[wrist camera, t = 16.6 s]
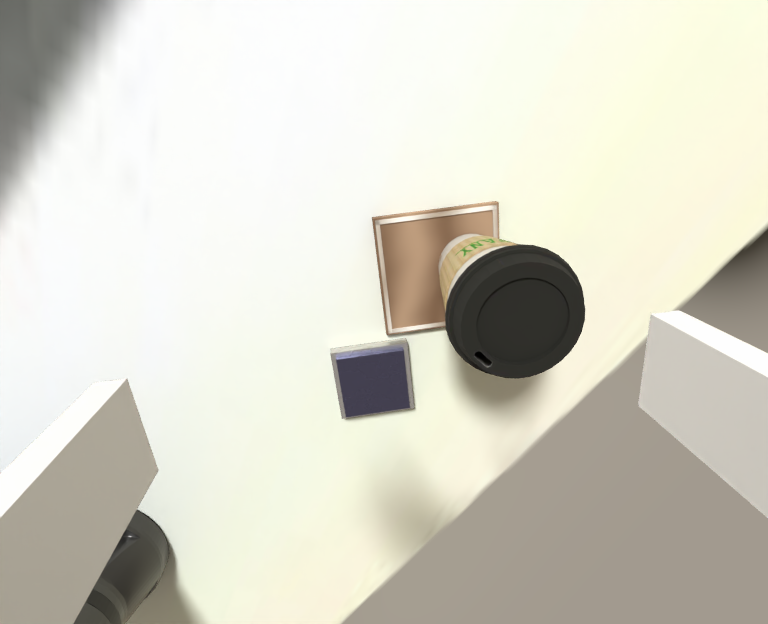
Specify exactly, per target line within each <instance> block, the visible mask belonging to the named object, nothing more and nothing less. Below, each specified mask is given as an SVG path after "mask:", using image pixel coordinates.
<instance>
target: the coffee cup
mask: <svg viewBox="0 0 768 624" xmlns="http://www.w3.org/2000/svg"><path fill="white" fill-rule="evenodd" d="M438 267H439V275H440V276H439V278H440V287H441V292H442V297H443V301H444V306H445V323H446V330H447V334H448V337H449V340H450V342H451V344H452V345H453V347H454V349H455V351H456V352H457V353H458V354H459V355H460V356H461V357H462V358H463V359H464V360H465V361H466V362H467V363H469V364H470V365H472V366H473V367H474V368H476V369H479V370H481V371H483V372H485V373H488V374H493V375H495V376H500V377H504V378H524V377H530V376H533V375H537V374H540V373H542V372H544V371H546V370H548V369H550V368H552V367H553V366H555V365H556V364H557V363H559V362H560V361H561V360H562V359H563V358H564V357H565V356H566V355H567V354H568V353H569V352H570V351H571V350H572V348H573V347H574V345H575V344H576V343H577V341H578V338H579V336H580V334H581V332H582V328H583V324H584V320H585V305H584V297H583V291H582V287H581V285H580V282H579V280H578V277H577V275H576V274H575V273H574V271H573V270H572V269H571V267H570V266H569V264H568V263H567V262H566V261H564V260H563V259H562V258H561V257H560V256H559V255H557V254H555V253H553V252H551V251H549V250H548V249H545V248H541V247H538V246H534V245H520V244H515V243H512V242H508V241H505V240H502V239H498V238H494V237H491V236H482V235H479V234H465V235H462V236H459V237H457V238H455V239H453V240H452V241H451V242H450V243H448V245H447V246H446V247H445V248H444V250H443V252H442V253H441V256H440V259H439V265H438Z"/></svg>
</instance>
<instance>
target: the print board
mask: <svg viewBox="0 0 768 624" xmlns="http://www.w3.org/2000/svg"><path fill="white" fill-rule="evenodd" d="M372 221H373V229H374V237H375V245H376V254H377V262H378V270H379V278H380V286H381V294H382V302H383V311H384V319H385V327H386V334H387V335H391V334H398V333H405V332H412V331H419V330H426V329H434V328H441V327H446V323H445V306H444V301H443V297H442V292H441V287H440V278H439V276H440V275H439V267H438V265H439V259H440V256H441V253H442V252H443V250H444V248H445V247H446V246H447V245H448V243H450V242H451V241H452V240H453V239H455V238H457V237H459V236H462V235H465V234H479V235H482V236H491V237H494V238H498V239H499V203H498V202H496V201H494V202H486V203H478V204H471V205H463V206H455V207H448V208H440V209H432V210H425V211H417V212H409V213H401V214H394V215H386V216H378V217H372Z"/></svg>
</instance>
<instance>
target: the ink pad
mask: <svg viewBox="0 0 768 624" xmlns="http://www.w3.org/2000/svg"><path fill="white" fill-rule="evenodd" d="M330 354H331V360H332V365H333V371H334V377H335V382H336V388H337V393H338V399H339V405H340V410H341V416H342V419H344V418H351V417H358V416H364V415H371V414H378V413H385V412H391V411H398V410H405V409H412V408H414V401H413V391H412V382H411V372H410V363H409V353H408V343H407V340H406V338H402V339H395V340H388V341H381V342H374V343H367V344H360V345H352V346H345V347H338V348H331V353H330Z"/></svg>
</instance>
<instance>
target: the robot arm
mask: <svg viewBox="0 0 768 624" xmlns="http://www.w3.org/2000/svg"><path fill="white" fill-rule="evenodd" d="M638 406H639V407H640V408H642V409H643V410H644V411H645V412H646V413H648V415H650V416H651V417H652V418H653V419H655V421H657V422H658V423H659V424H660V425H661V426H662V427H663V428H665V429H666V430H667V431H668V432H669V433H670V434H672V435H673V436H674V437H675V438H676V439H677V440H678V441H680V442H681V443H682V444H683V445H684V446H685V447H686V448H688V449H689V450H690V451H691V452H692V453H693V454H695V455H696V456H697V457H698V458H699V459H700V460H701V461H703V462H704V463H705V464H706V465H707V466H708V467H710V468H711V469H712V470H713V471H714V472H715V473H716V474H718V475H719V476H720V477H721V478H722V479H723V480H724V481H726V482H727V483H728V484H729V485H730V486H731V487H732V488H734V489H735V490H736V491H737V492H738V493H739V494H741V495H742V496H743V497H744V498H745V499H746V500H747V501H749V502H750V503H751V504H752V505H753V506H754V507H756V508H757V509H758V510H759V511H760V512H761V513H762V514H764V515H765V516H766V517H767V518H768V353H766V352H764V351H762V350H759V349H758V348H756V347H753V346H751V345H749V344H747V343H745V342H743V341H741V340H739V339H737V338H735V337H733V336H730V335H729V334H727V333H725V332H723V331H720V330H718V329H716V328H714V327H712V326H710V325H708V324H706V323H704V322H702V321H700V320H698V319H696V318H694V317H692V316H690V315H687V314H685V313H683V312H681V311H671V312H663V313H655V314H651V316H650V323H649V330H648V338H647V345H646V352H645V360H644V367H643V374H642V381H641V389H640V396H639V403H638ZM157 472H158V468H157V465H156V462H155V459H154V456H153V453H152V450H151V447H150V444H149V442H148V439H147V436H146V433H145V430H144V427H143V424H142V421H141V418H140V415H139V412H138V409H137V406H136V403H135V400H134V398H133V395H132V392H131V389H130V386H129V383H128V380H127V379H119V380H111V381H103V382H95V383H93V384H92V385H91V386H90V387H89V388H88V389H87V390H86V391H85V392H84V393H83V394H82V395H81V396H80V397H79V398H78V399H77V400H76V401H75V402H74V403H73V404H72V405H70V406H69V407H68V408H67V409H66V410H65V411H64V412H63V413H62V414H61V415H60V416H59V417H58V418H57V419H56V420H55V421H54V422H53V423H52V424H51V425H50V426H49V427H48V428H47V429H46V430H45V431H44V432H43V433H42V434H41V435H40V436H39V437H37V438H36V439H35V440H34V441H33V442H32V443H31V444H30V445H29V446H28V447H27V448H26V449H25V450H24V451H23V452H22V453H21V454H20V455H19V456H18V457H17V458H16V459H15V460H14V461H13V462H12V463H11V464H10V465H9V466H8V467H7V468H5V469H4V470H3V471H2V472H1V473H0V624H125V623H126V622H127V620H128V619H129V618H130V617H131V615H132V614H133V613H134V612H135V610H136V609H137V608H138V607H139V605H140V604H141V603H142V601H143V600H144V599H145V598H146V597H148V595H149V594H150V593H151V592H152V591H153V590H154V589H155V587H156V586H157V584H158V582H159V581H160V578H161V576H162V574H163V571H164V569H165V567H166V564H167V561H168V556H169V549H168V544H167V541H166V538H165V536H164V534H163V533H162V531H161V530H160V528H159V527H158V526H157V525H156V524H155V523H154V522H153V521H152V520H151V519H149V518H148V517H147V516H145V515H144V514H142V513H141V512H139V511H137V508H138V506H139V505H140V503H141V501H142V499H143V497H144V495H145V494H146V492H147V490H148V488H149V486H150V485H151V483H152V481H153V479H154V477H155V476H156V474H157Z"/></svg>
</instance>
